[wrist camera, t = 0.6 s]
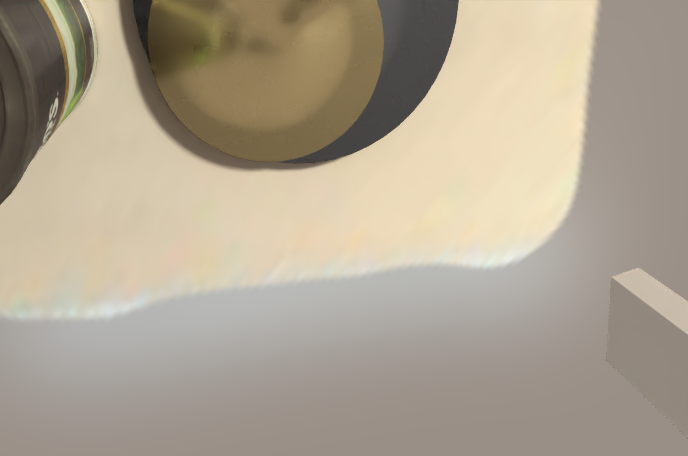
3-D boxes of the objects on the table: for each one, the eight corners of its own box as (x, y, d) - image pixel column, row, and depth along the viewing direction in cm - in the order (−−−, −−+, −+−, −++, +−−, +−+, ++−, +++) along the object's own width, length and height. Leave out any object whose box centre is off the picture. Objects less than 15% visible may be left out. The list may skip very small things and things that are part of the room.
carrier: (55, 24, 28) (-24, 60, 18) (296, -303, 25) (371, -489, 15) (309, 216, 37) (356, 317, 26) (515, -12, 34) (662, 0, 23)
